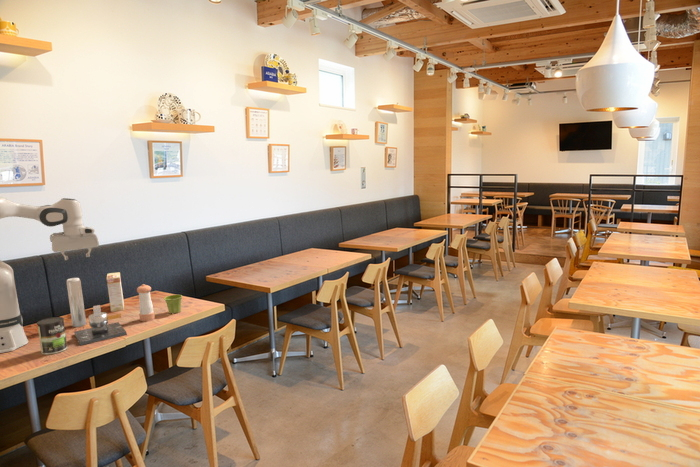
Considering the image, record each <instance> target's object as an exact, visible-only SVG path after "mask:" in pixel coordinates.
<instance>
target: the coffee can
mask: <svg viewBox="0 0 700 467" xmlns="http://www.w3.org/2000/svg"><path fill="white" fill-rule="evenodd" d="M64 319H65V318H64V317H61V316H56V317H54V316H53V317H47V318H43V319H41V320H38V321H37V322H36V325H37V331H38V339H39V344H40V353H41V354H42V355H45V356H46V355H54V354H59V353H62V352H64V351H66V350H67V349H68V341H67V337H66V329H65V328H66V327H65V320H64Z"/></svg>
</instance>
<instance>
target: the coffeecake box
mask: <svg viewBox="0 0 700 467" xmlns="http://www.w3.org/2000/svg"><path fill="white" fill-rule="evenodd" d="M121 279H122V278H121V272H119V271H118V272H110V273H107V275H106V282H107V283H106V284H107V292H108V297H109V298H108V299H109V307H110V312H112V313H113V312H118V311H124V310H125V302H124V301H125V300H124V295H123V287H122V280H121Z"/></svg>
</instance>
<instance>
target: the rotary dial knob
mask: <svg viewBox="0 0 700 467" xmlns="http://www.w3.org/2000/svg"><path fill="white" fill-rule="evenodd" d="M92 308H93V309H92V310H93V313H92V314H89V315H88V322H89V328H91V327H100V326H103V325H106V324H107V325H108V324H109V321H110V320H114V319H121V318H122V314H121V313H117V314H116V313H115V314H111V315H108V312H103V311H102V309H101V304H97V305H93V306H92Z"/></svg>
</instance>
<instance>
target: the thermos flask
mask: <svg viewBox="0 0 700 467" xmlns="http://www.w3.org/2000/svg"><path fill="white" fill-rule="evenodd" d="M66 288H67V295H68V302H69V303H68V304H69V310H70V316H71V324H72V327H73V328H79V327H80V328H81V327H84V326H86V325H87V319H86V318H87V317H86V311H85V305H84V304H85V303H84V297H83V289H82V288H83V287H82V281H81V279H80V278H79V277H71V278H68V279H66Z"/></svg>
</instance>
